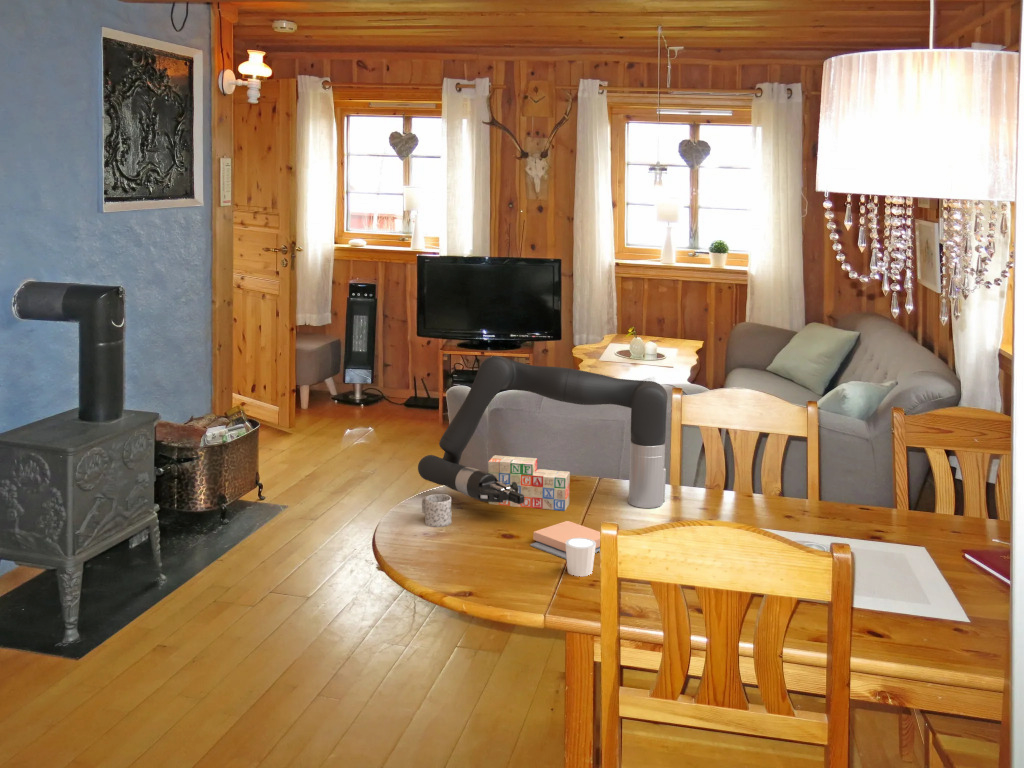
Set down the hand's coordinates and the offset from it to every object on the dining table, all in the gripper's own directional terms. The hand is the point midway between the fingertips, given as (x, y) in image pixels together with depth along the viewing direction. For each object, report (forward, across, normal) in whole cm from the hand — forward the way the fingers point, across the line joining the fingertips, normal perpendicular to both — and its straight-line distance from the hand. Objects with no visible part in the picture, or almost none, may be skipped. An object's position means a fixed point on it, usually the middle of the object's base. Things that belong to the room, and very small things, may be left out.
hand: (522, 499), depth 260 cm
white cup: (+30, -11, +7) cm, 33 cm away
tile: (+10, 0, +5) cm, 11 cm away
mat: (+18, 0, +7) cm, 19 cm away
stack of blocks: (-12, +14, +8) cm, 20 cm away
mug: (-18, -14, +8) cm, 24 cm away
